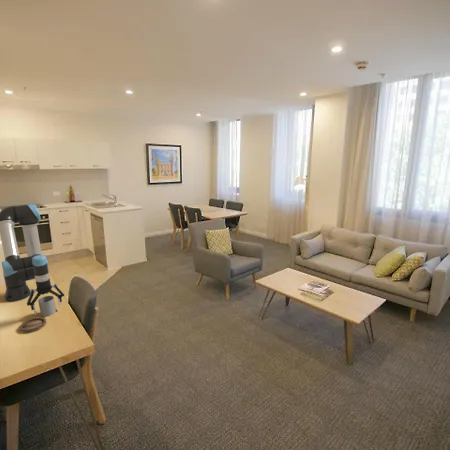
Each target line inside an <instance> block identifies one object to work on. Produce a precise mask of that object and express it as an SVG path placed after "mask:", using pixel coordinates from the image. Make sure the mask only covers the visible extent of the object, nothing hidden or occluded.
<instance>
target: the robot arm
mask: <svg viewBox="0 0 450 450" xmlns="http://www.w3.org/2000/svg"><path fill="white" fill-rule="evenodd" d="M41 220H42V218H41V215H40V211H39V209H38V206H37V205H36V204H32V203H31V204H22V205H20V204H19V205H13V206H12V205H9V206H7V207H4V208H3V209H2V210H1V211H0V240H1V246H2V251H3V255H4V260H3V261H2V262H1V266H2V271H3V272H2V274H3V275H2V276H3V278H4V283H5V289H6V290H5V294H4V299H5V301H7V302H15V301H16V302H18V301H21V300H25V299H26V298H28V300H27V302H26V305H27V306H28V307H29V306H30V308H31V311H33V312H34V315H35V316H36V315H37V310H36V305H35V303H36V302H37V301H38V300H39V297H41V295H42V296H43V295H47V294H49V293H50V294H51V295H54V296H56V297H57V303H58V308H59V309H60V308H62V305H61V303H62V302H63V299H62V298H63V297H64V296H65V294H64V292H62V290H61V289H60V288H59V286H58V285H57V283H53V284H52V285H51V279H50V277H51V276H50V272H49V271H50V270H49V269H50V268H49V261H48V260H47V257H46V255H44V254H42V253H43V252H42V249H41V248H42V247H41V243H40V237H39V230H38V225H39V223H40V221H41ZM15 224H18V226H20V227H21V229H22V231H23V232H22V233H23V237H24V238H23V239H24V243H25V249H26V254H27V255H26V256H25V257H21V256H20V251H19V247H18V242H17V238H16V232H15V228H14V227H15V226H16V225H15ZM31 280H34V281H35V284H36V289H35V288H34V289H33V288H30V287H29V286H28V284H27V281H31ZM52 288H53V289H55V290H56V291H57V292H56V291H55V290H53V289H52ZM36 292H37V293H36ZM35 293H36V295H35V296H34V294H35ZM33 297H34V298H33Z"/></svg>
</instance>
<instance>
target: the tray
mask: <svg viewBox="0 0 450 450" xmlns="http://www.w3.org/2000/svg"><path fill="white" fill-rule="evenodd" d="M46 325H47V320H46V317H43V316H38V317H37V316H36V317H33V318H28V319H27V320H25V321H23V322H22V323H21V324H20V325H19V330H20V332H22V333H25V334H27V333H34V332H37V331H39V330H41V329H43V328H44V327H45V326H46Z"/></svg>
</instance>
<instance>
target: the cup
mask: <svg viewBox="0 0 450 450" xmlns="http://www.w3.org/2000/svg"><path fill="white" fill-rule="evenodd" d="M37 302H38V307H39V311H40V313H39V314H40V317H43V318H46V317H51V316H52V315H55V313H56V312H57V311H56V304H55V297H54V296H53V295H46V296H41V297H40V298H38V299H37Z"/></svg>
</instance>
